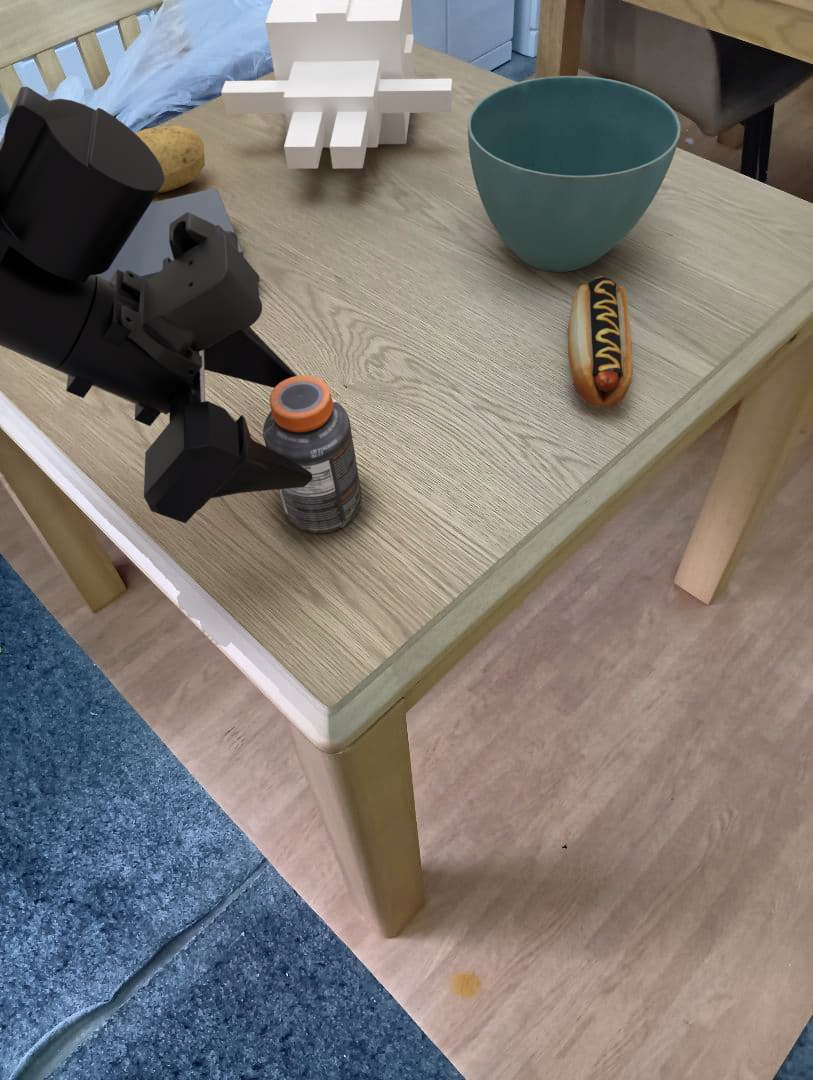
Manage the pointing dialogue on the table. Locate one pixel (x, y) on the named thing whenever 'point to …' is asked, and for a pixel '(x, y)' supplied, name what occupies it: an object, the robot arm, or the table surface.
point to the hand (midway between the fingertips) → (302, 430)
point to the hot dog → (600, 343)
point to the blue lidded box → (165, 232)
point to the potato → (175, 154)
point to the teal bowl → (569, 164)
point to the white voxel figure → (340, 79)
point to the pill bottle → (314, 453)
